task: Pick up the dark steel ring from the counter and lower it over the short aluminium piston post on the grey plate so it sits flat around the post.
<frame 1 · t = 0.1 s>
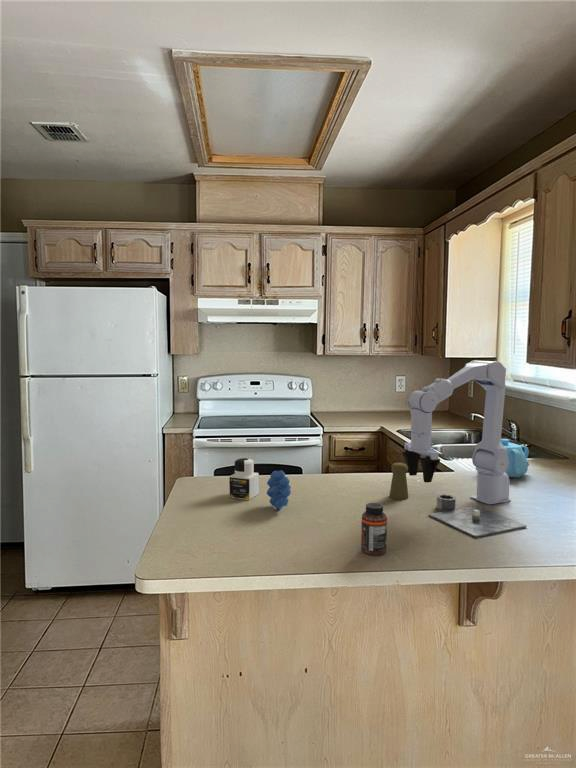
hand: (420, 478, 149), 10 cm above the table, tool pointing down, fingers open, 7 cm apart
cork: (398, 497, 164), on the table
decorative pot: (503, 475, 190), on the table
ring: (445, 508, 152), on the table
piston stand: (475, 521, 142), on the table
medicine bottle: (244, 496, 164), on the table
supplement bottle: (373, 551, 122), on the table
grapes: (281, 509, 152), on the table
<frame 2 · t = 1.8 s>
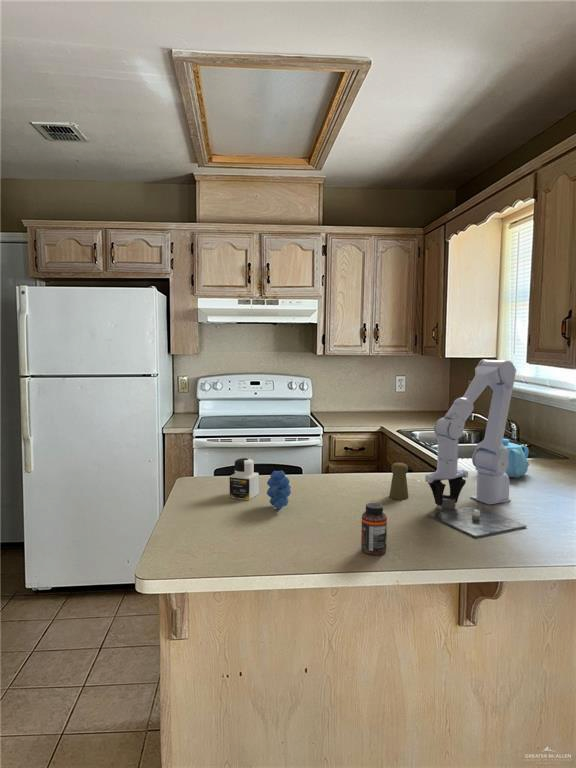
hand: (446, 503, 152), 2 cm above the table, tool pointing down, fingers closed on ring, 5 cm apart
ring: (445, 508, 152), on the table, touching gripper
everything else where it was.
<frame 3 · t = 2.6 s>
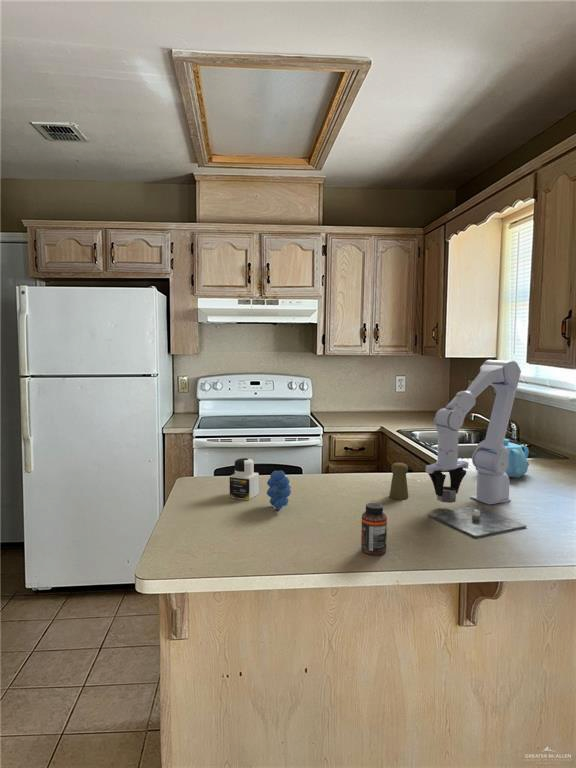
hand: (446, 494, 152), 4 cm above the table, tool pointing down, fingers closed on ring, 5 cm apart
ring: (446, 499, 152), point 3 cm above the table, touching gripper
everything else where it was.
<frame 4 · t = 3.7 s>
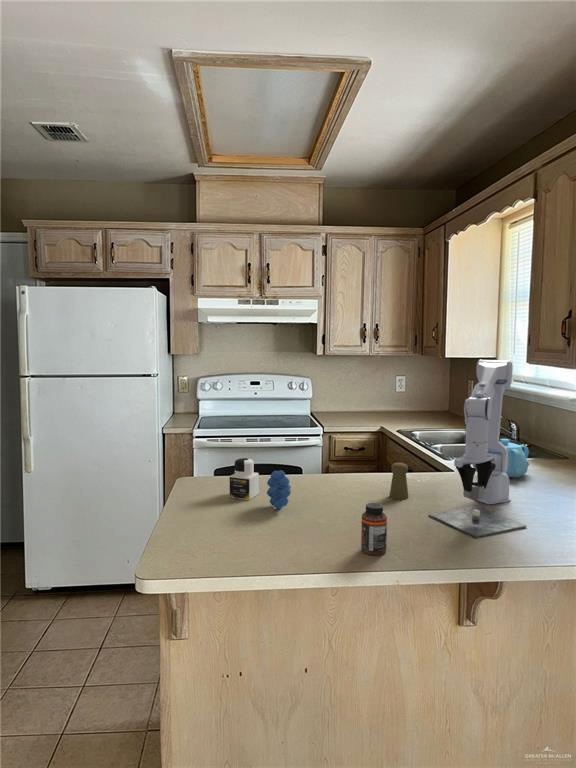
hand: (474, 489, 141), 9 cm above the table, tool pointing down, fingers closed on ring, 5 cm apart
ring: (473, 496, 142), point 7 cm above the table, touching gripper
everything else where it was.
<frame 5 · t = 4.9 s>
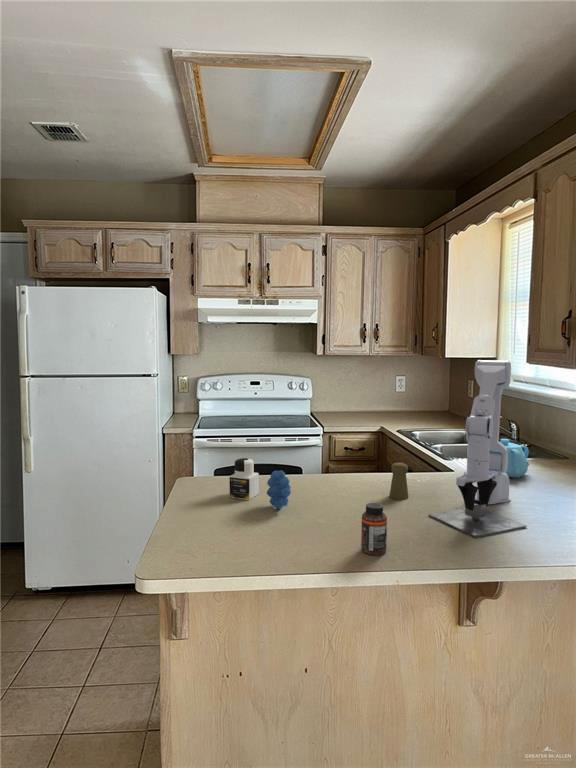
hand: (476, 507, 141), 4 cm above the table, tool pointing down, fingers closed on ring, 5 cm apart
ring: (474, 514, 142), point 2 cm above the table, touching gripper
everything else where it was.
when the fingers open (3 cm above the table, at t = 5.6 s): ring stays where it is, resting on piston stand.
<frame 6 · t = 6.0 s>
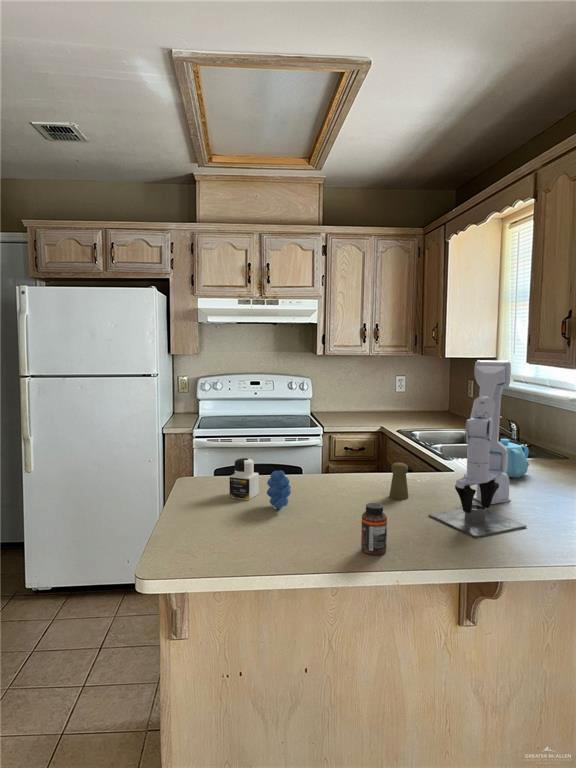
hand: (476, 509, 141), 3 cm above the table, tool pointing down, fingers open, 7 cm apart
ring: (474, 519, 142), point 1 cm above the table, touching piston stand
everything else where it was.
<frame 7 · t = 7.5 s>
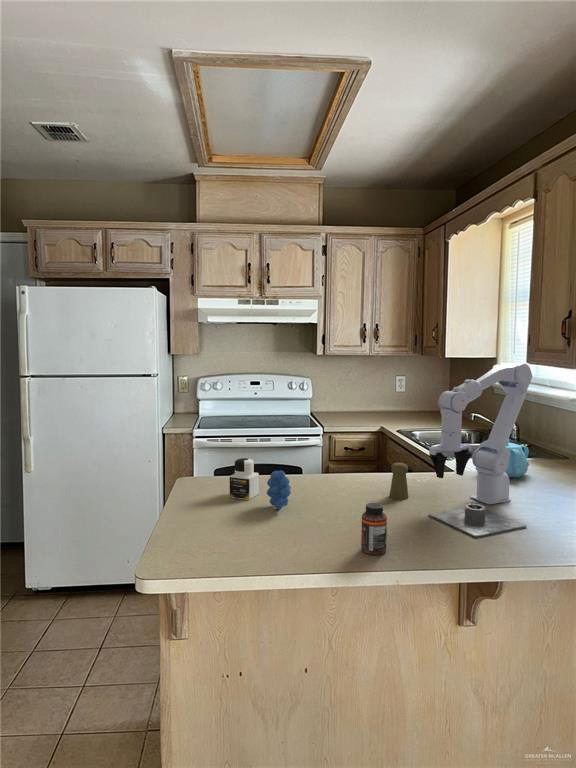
hand: (449, 476, 153), 9 cm above the table, tool pointing down, fingers open, 7 cm apart
nothing on the table moved.
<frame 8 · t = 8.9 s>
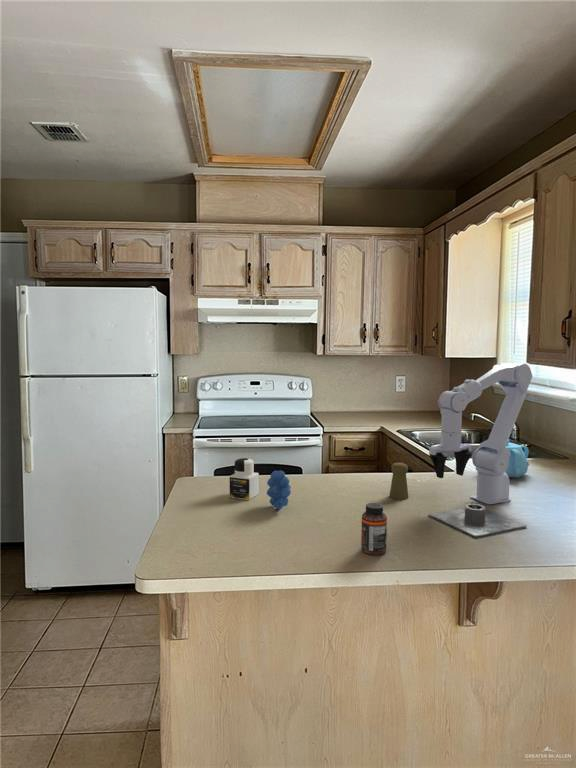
hand: (449, 476, 153), 9 cm above the table, tool pointing down, fingers open, 7 cm apart
nothing on the table moved.
at the end: ring 0.4 cm from the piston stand (horizontally); ring 0.4 cm off-centre on the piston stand, point 0.6 cm above the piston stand's base; the gripper is holding nothing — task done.
